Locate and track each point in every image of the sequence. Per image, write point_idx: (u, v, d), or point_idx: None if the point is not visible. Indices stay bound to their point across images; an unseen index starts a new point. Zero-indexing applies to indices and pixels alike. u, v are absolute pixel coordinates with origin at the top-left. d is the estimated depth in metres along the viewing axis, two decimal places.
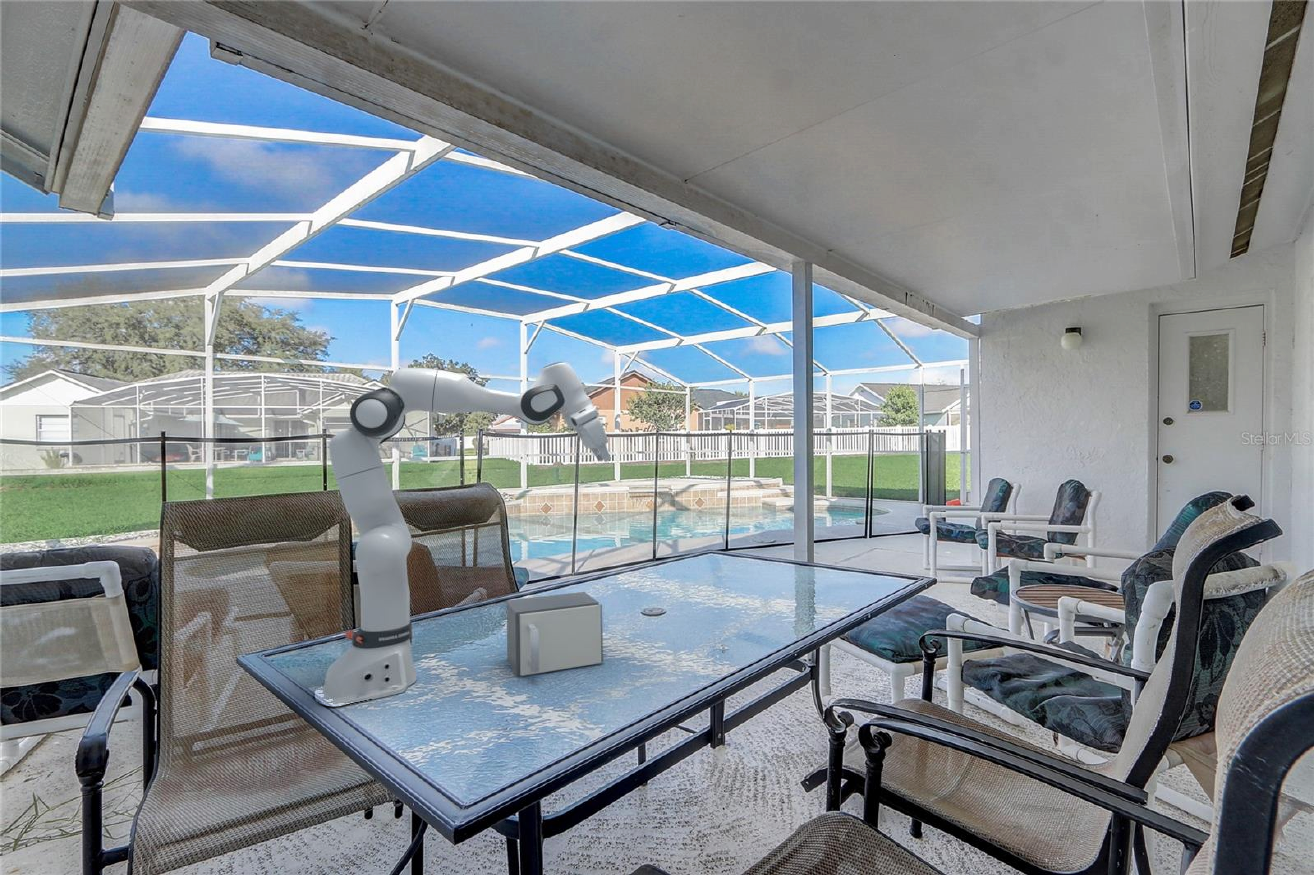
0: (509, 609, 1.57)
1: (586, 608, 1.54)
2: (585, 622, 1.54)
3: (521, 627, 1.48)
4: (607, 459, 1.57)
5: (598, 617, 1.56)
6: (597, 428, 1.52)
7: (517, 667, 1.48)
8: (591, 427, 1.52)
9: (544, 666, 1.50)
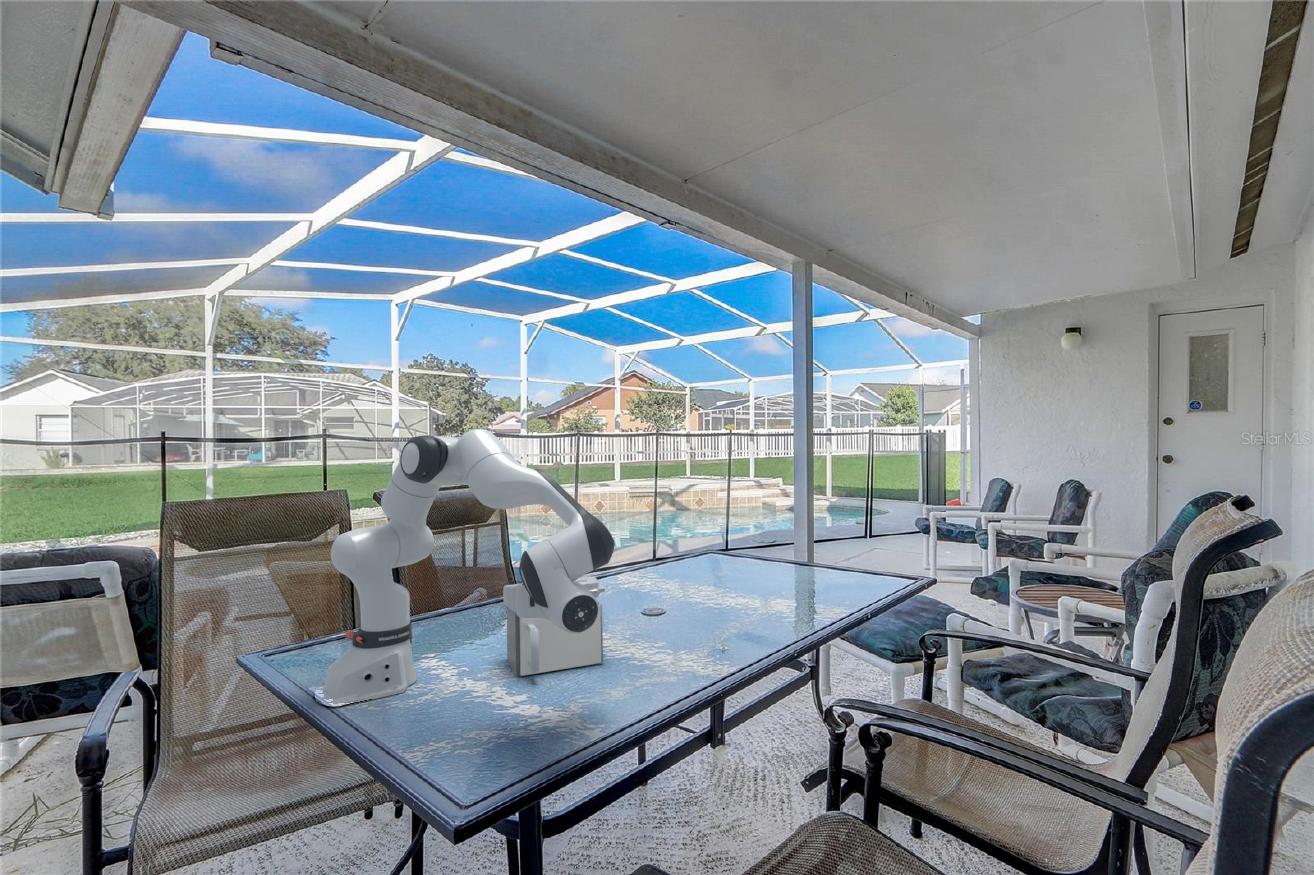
0: (509, 609, 1.57)
1: None
2: None
3: (521, 627, 1.48)
4: None
5: (598, 617, 1.56)
6: (507, 601, 1.21)
7: (517, 667, 1.48)
8: (509, 595, 1.20)
9: (544, 666, 1.50)
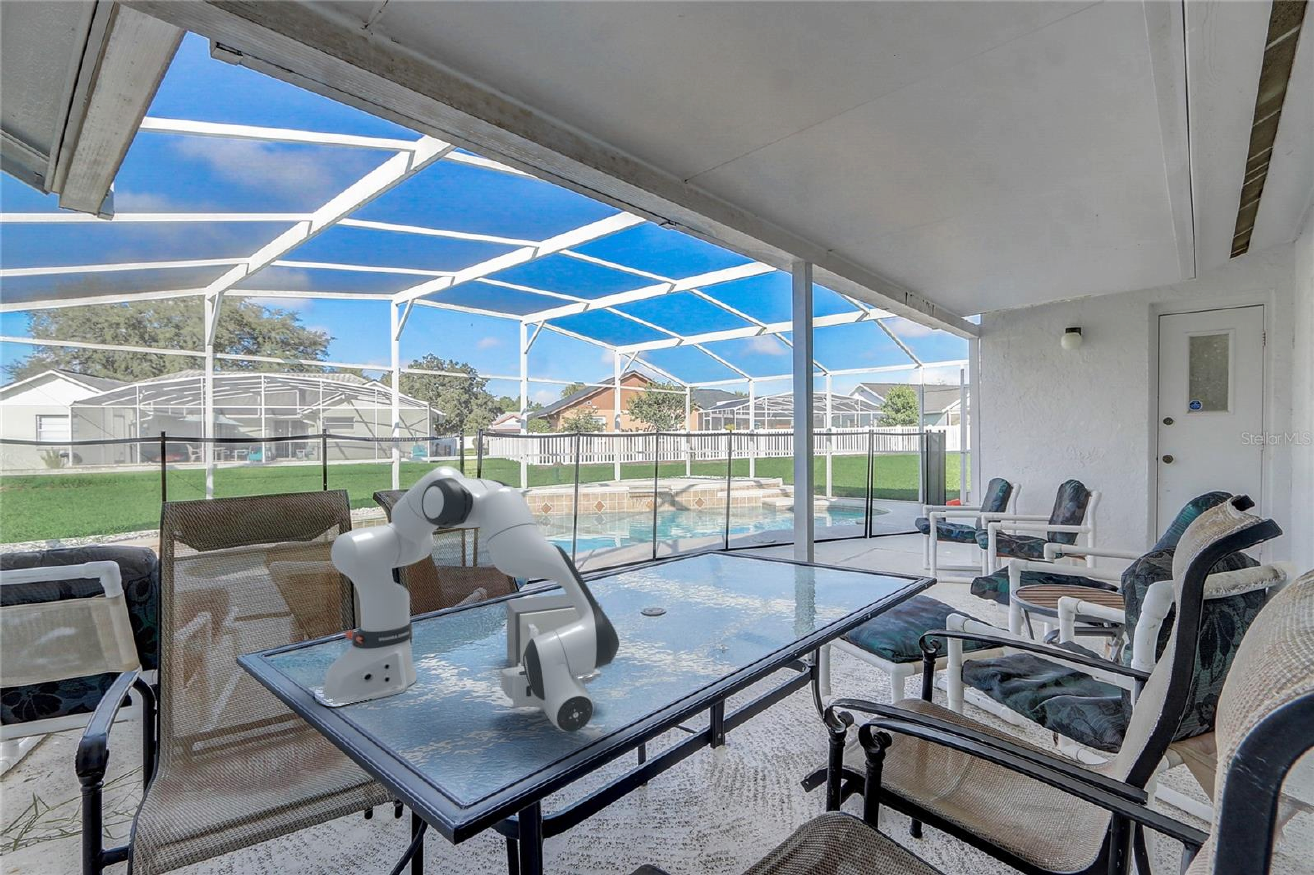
0: (509, 609, 1.57)
1: None
2: None
3: (521, 627, 1.48)
4: None
5: None
6: (504, 687, 1.23)
7: None
8: (506, 682, 1.22)
9: None
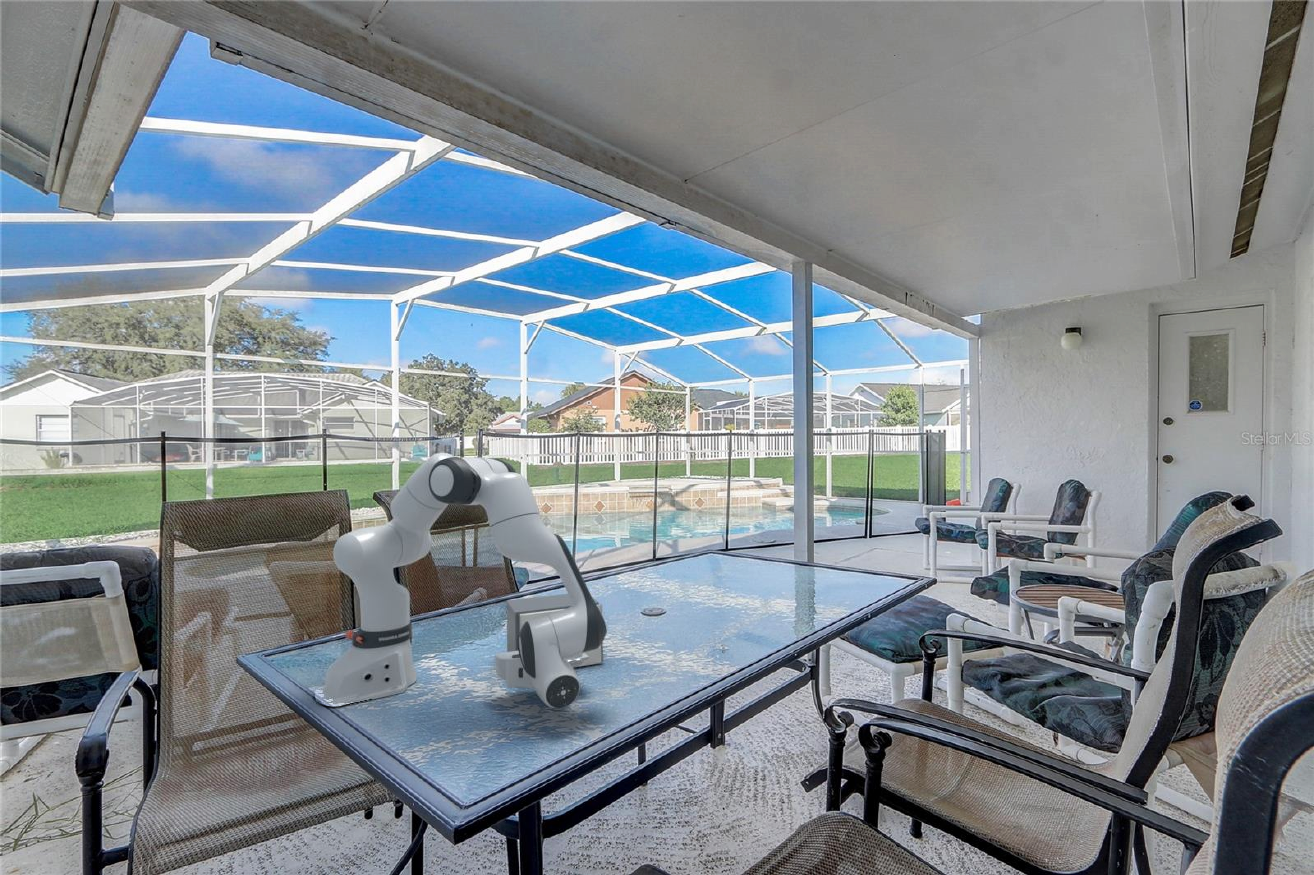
0: (509, 609, 1.57)
1: None
2: None
3: (521, 627, 1.48)
4: None
5: None
6: (498, 670, 1.32)
7: None
8: (500, 665, 1.32)
9: None
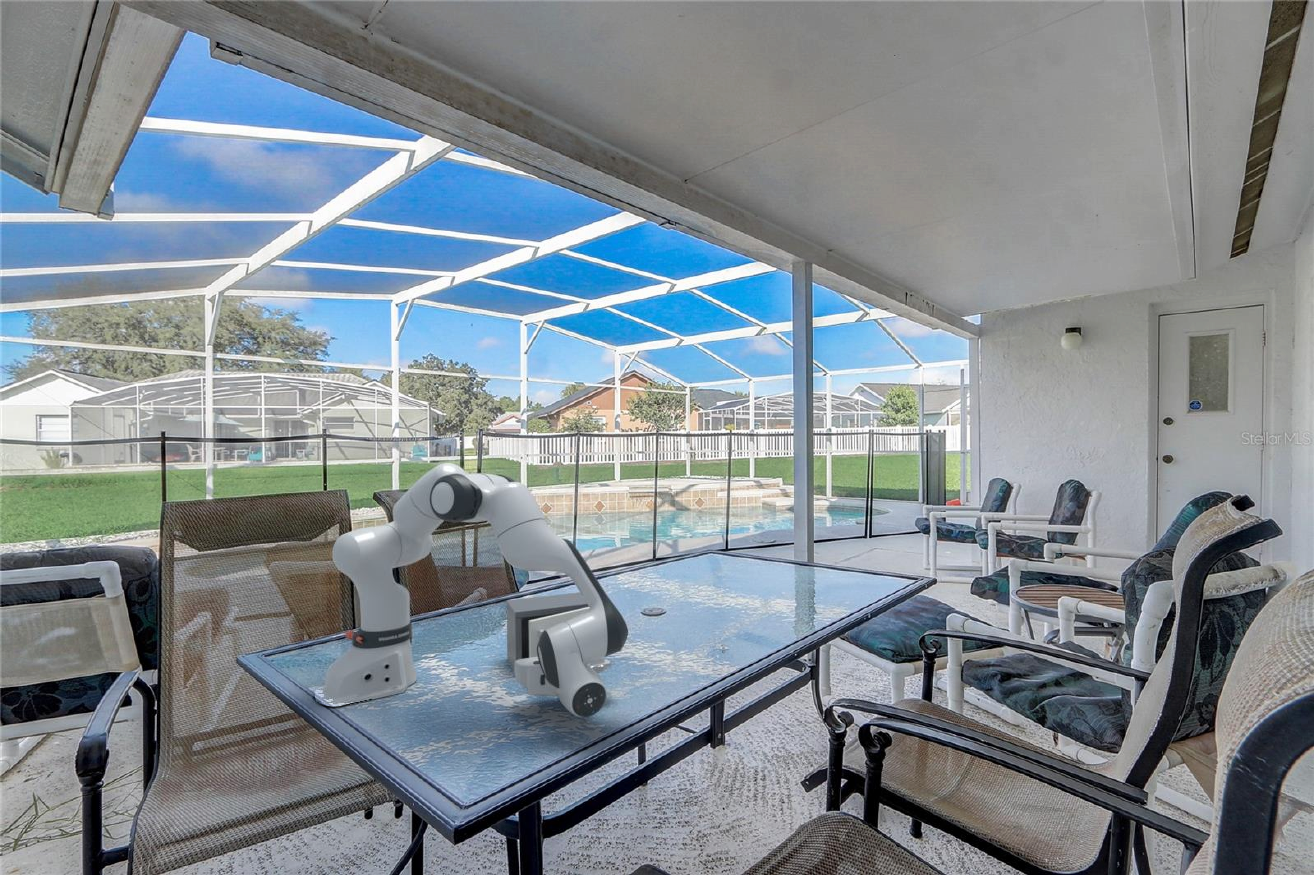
0: (509, 609, 1.57)
1: None
2: None
3: (532, 634, 1.42)
4: None
5: None
6: (518, 677, 1.28)
7: None
8: (520, 672, 1.27)
9: None
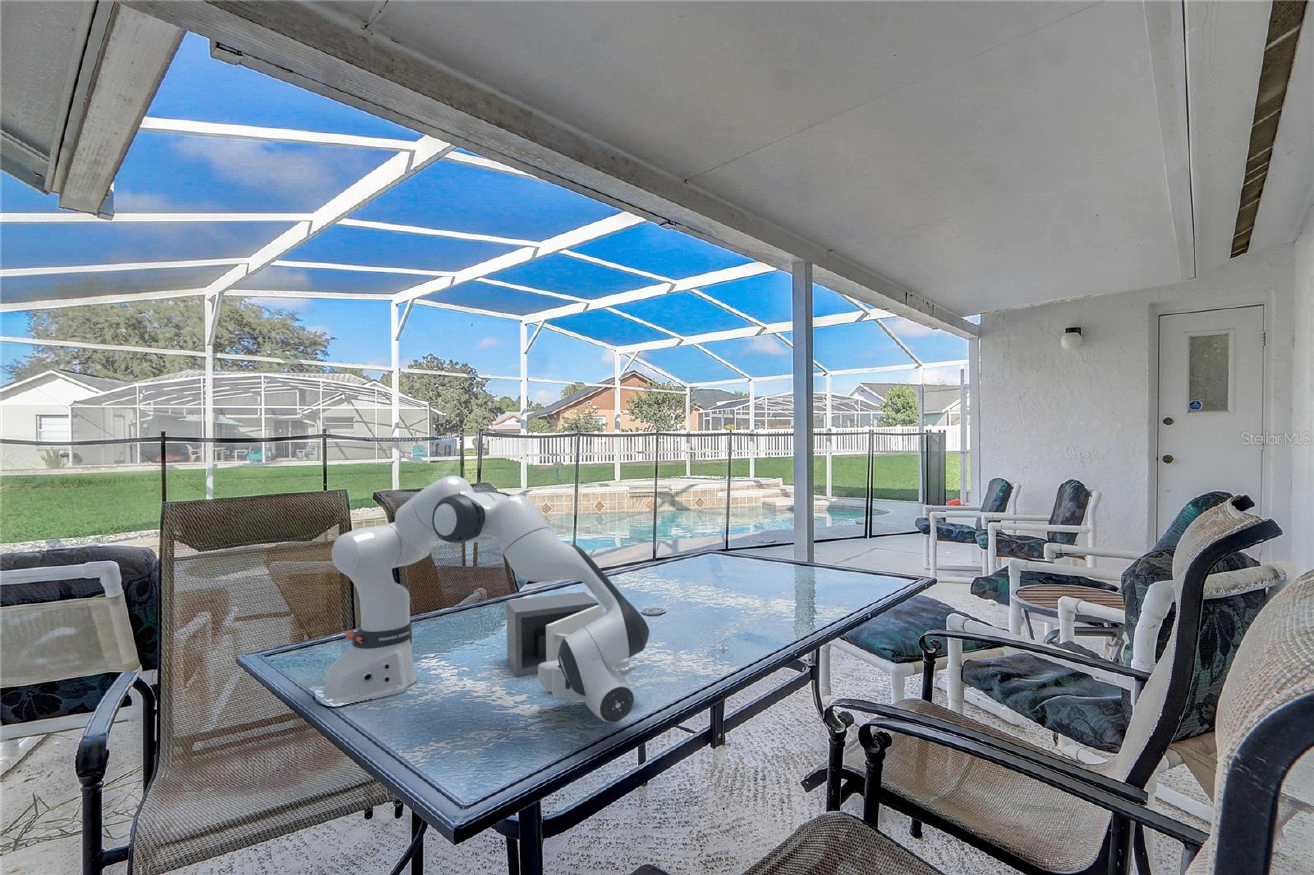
0: (509, 609, 1.57)
1: (593, 609, 1.53)
2: None
3: (550, 638, 1.38)
4: None
5: None
6: (543, 680, 1.26)
7: (517, 667, 1.48)
8: (544, 675, 1.25)
9: None
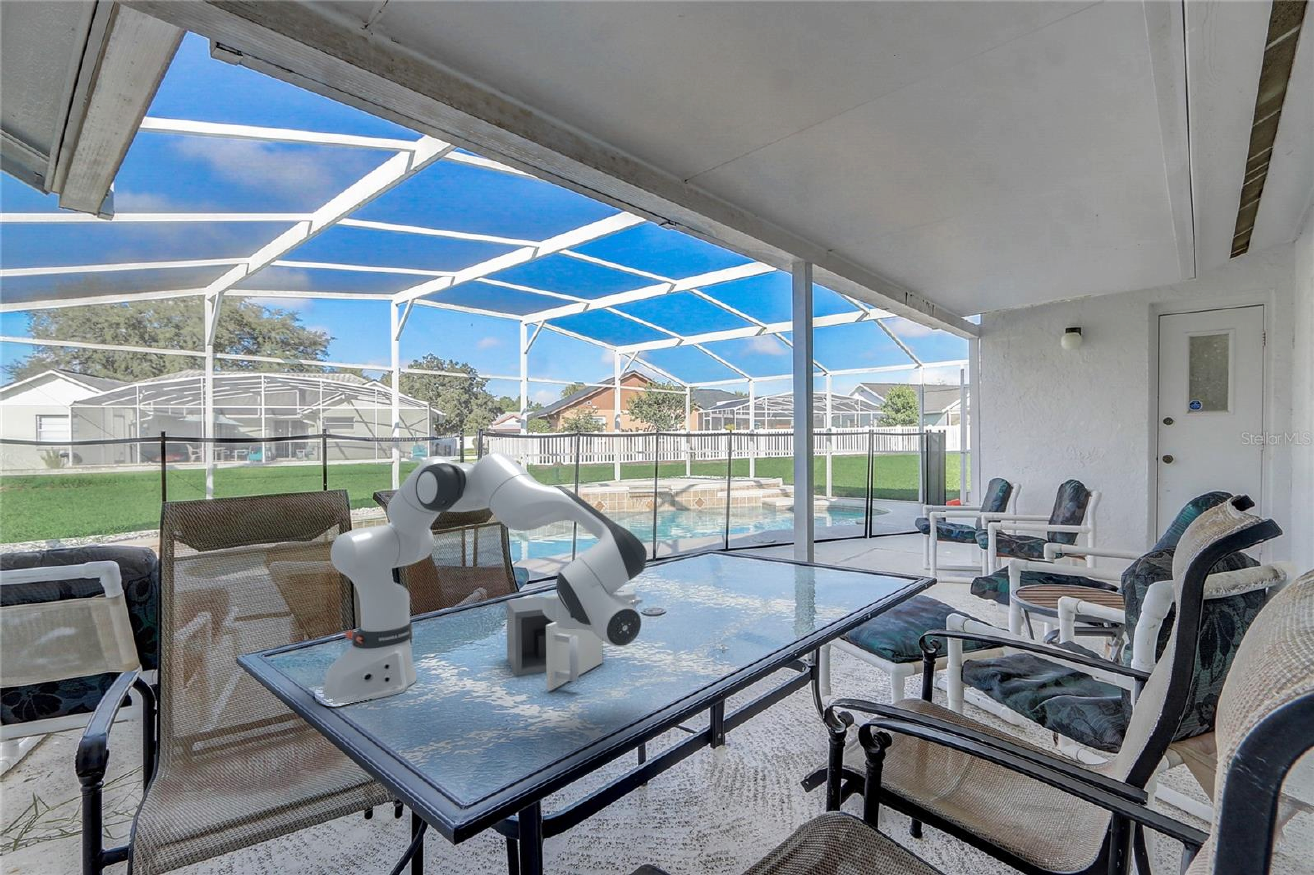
0: (509, 609, 1.57)
1: None
2: None
3: (550, 638, 1.38)
4: None
5: None
6: (547, 611, 1.22)
7: (517, 667, 1.48)
8: (549, 606, 1.21)
9: None
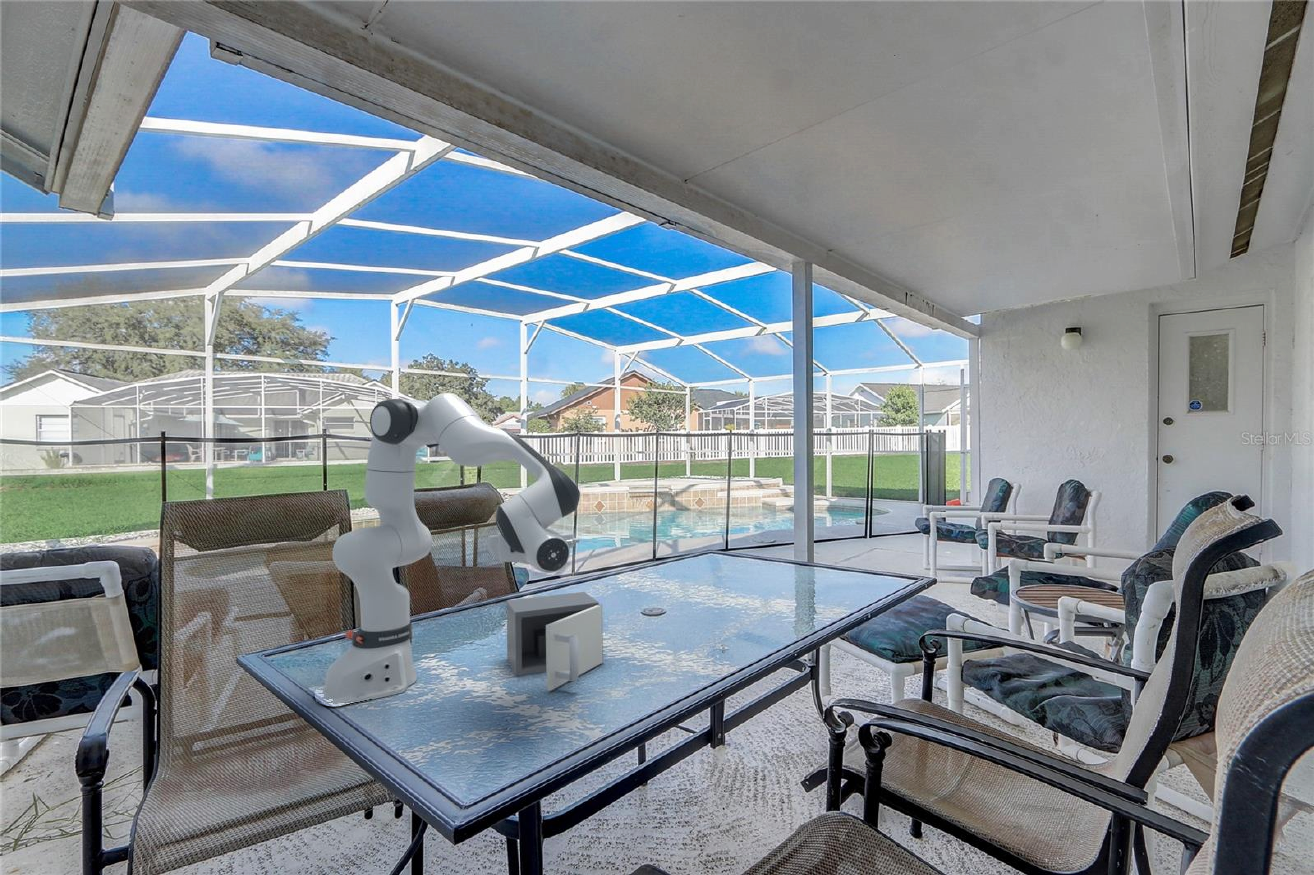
0: (509, 609, 1.57)
1: (593, 609, 1.53)
2: (592, 624, 1.52)
3: (550, 638, 1.38)
4: None
5: (600, 617, 1.56)
6: (491, 548, 1.35)
7: (517, 667, 1.48)
8: (492, 543, 1.34)
9: None
